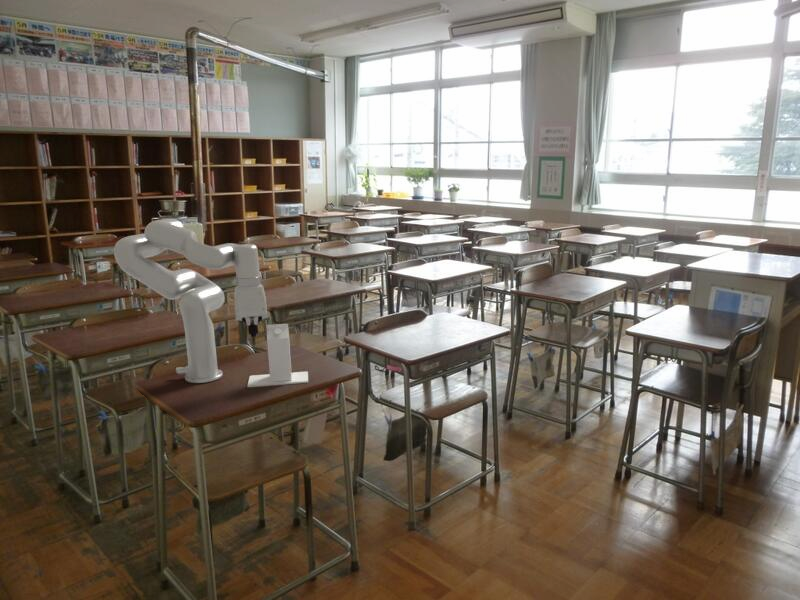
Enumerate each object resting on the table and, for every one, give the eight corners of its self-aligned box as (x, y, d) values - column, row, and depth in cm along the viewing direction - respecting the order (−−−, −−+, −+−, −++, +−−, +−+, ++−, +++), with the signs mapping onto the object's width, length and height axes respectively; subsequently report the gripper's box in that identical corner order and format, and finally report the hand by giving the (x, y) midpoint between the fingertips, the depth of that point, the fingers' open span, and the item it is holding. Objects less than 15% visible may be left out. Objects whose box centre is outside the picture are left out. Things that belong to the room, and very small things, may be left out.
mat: (247, 387, 203) (247, 385, 203) (250, 377, 213) (249, 375, 213) (308, 382, 206) (308, 381, 206) (307, 373, 216) (307, 371, 216)
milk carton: (270, 375, 213) (266, 322, 208) (291, 373, 214) (288, 321, 210) (270, 382, 206) (266, 328, 202) (291, 380, 207) (288, 326, 203)
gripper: (224, 285, 196) (229, 340, 200) (271, 282, 198) (276, 337, 202) (226, 281, 204) (232, 334, 207) (272, 278, 206) (276, 331, 210)
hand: (253, 335), depth 205 cm, fingers closed
